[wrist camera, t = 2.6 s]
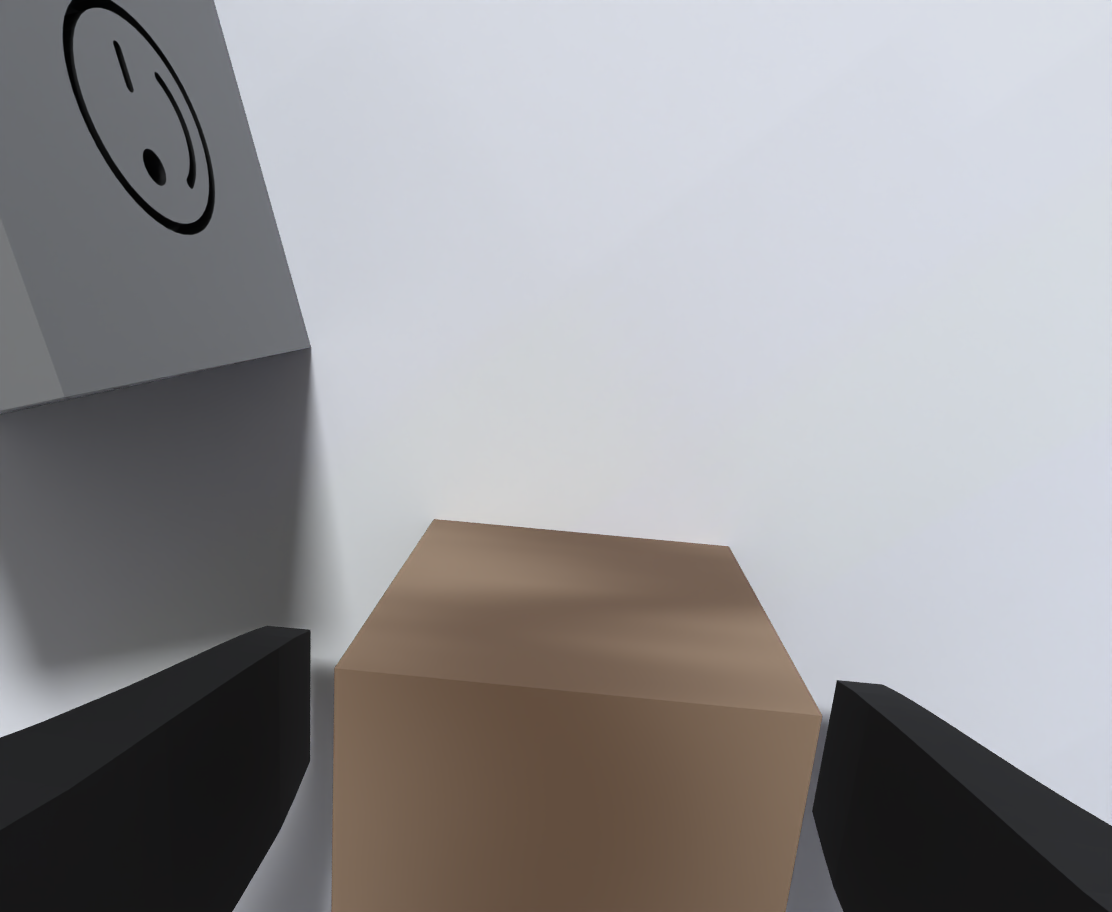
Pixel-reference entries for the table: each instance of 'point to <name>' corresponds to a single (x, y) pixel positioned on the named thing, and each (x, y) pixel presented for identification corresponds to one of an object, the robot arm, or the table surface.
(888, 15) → the table surface
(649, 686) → the walnut block
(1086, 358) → the table surface
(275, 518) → the table surface
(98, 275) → the dice cube
